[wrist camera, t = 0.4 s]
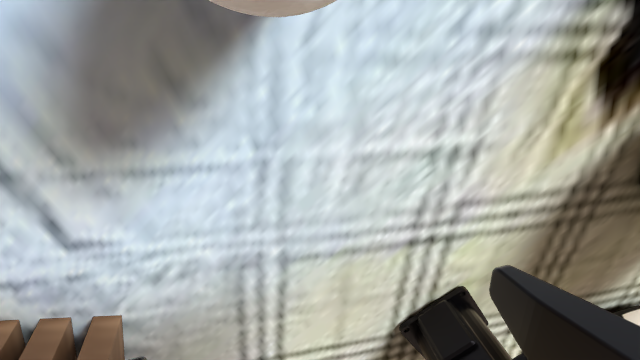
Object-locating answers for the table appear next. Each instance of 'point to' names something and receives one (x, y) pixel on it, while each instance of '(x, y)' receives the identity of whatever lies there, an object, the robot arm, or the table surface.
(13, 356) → the domino
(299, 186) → the table surface
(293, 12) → the supplement bottle
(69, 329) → the domino
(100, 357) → the domino
